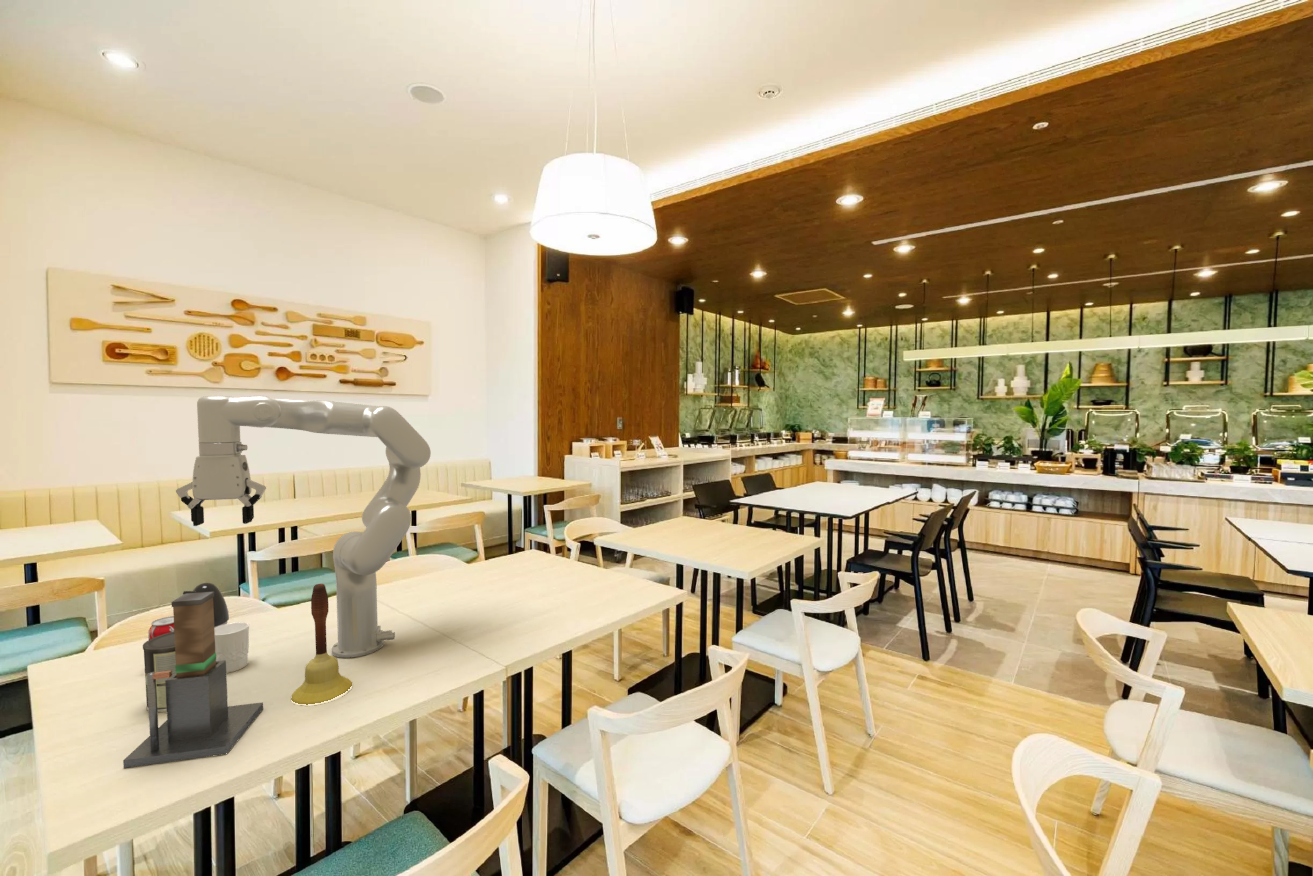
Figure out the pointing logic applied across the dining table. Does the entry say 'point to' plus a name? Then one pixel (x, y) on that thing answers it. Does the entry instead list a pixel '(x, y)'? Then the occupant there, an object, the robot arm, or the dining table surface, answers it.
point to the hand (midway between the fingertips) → (223, 523)
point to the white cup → (232, 645)
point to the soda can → (161, 627)
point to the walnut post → (194, 634)
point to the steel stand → (192, 719)
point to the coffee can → (160, 664)
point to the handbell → (321, 660)
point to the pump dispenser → (214, 602)
